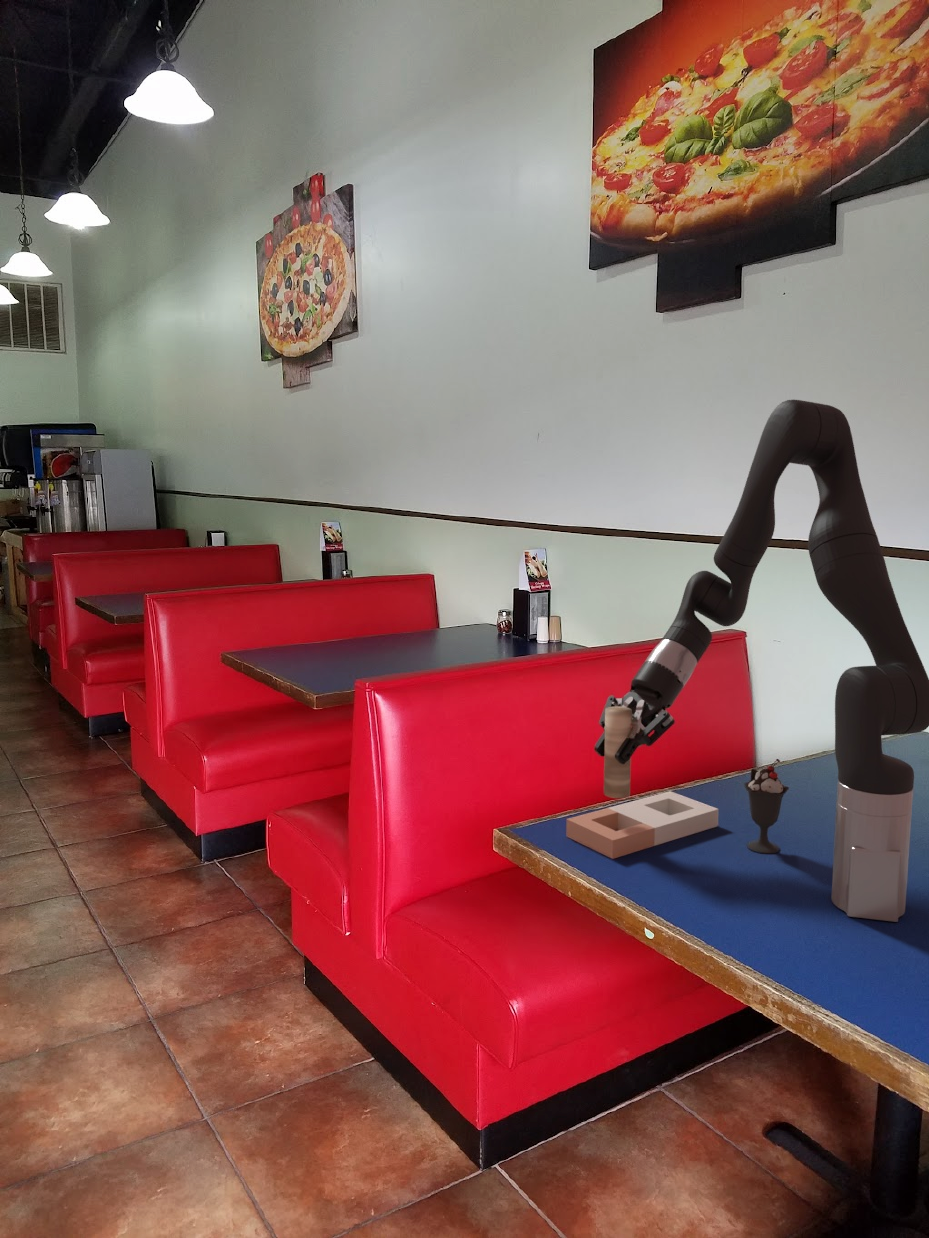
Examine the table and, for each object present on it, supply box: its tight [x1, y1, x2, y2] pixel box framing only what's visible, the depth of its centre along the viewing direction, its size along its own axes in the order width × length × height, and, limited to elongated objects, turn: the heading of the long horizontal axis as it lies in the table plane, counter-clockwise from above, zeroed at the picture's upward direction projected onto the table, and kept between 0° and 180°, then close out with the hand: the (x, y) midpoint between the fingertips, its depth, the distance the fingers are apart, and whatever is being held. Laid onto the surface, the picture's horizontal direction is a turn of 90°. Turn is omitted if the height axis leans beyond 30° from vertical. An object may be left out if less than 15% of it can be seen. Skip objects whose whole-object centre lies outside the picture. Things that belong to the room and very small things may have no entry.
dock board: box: [565, 790, 720, 860], centre depth 150 cm, size 24×11×3 cm, turn 124°
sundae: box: [743, 758, 790, 855], centre depth 142 cm, size 7×7×15 cm
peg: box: [603, 706, 632, 799], centre depth 145 cm, size 4×4×14 cm
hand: (608, 756), depth 144 cm, fingers closed on peg, 4 cm apart
